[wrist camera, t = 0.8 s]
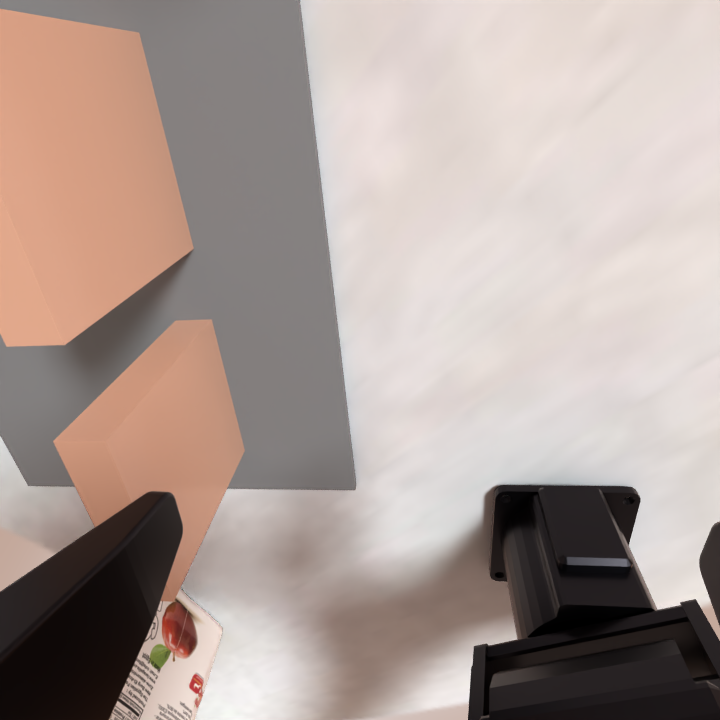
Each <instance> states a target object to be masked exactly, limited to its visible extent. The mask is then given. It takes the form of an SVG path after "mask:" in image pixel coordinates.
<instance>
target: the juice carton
mask: <svg viewBox="0 0 720 720" xmlns="http://www.w3.org/2000/svg"><path fill="white" fill-rule="evenodd" d="M222 631H223V628H222V627H221V626H220V625H219V623H218V622H217V621H215V620H214V619H213V618H212V617H211V616H210V615H209V614H208V613H207V612H206V611H204V610H203V609H202V608H201V607H200V606H198V605H197V604H196V603H195V602H194V601H193V600H191V599H190V598H189V597H188V596H187V595H186V594H185V593H184V592H183V590H182V589H181V588H180V589H179V592H178V594H177V596H176V598H175V600H174V602H169V601H160V604H159V607H158V610H157V613H156V615H155V618H154V621H153V623H152V625H151V628H150V630H149V632H148V635H147V637H146V639H145V641H144V644H143V646H142V648H141V650H140V652H139V655H138V657H137V659H136V661H135V664H134V666H133V668H132V670H131V672H130V675H129V677H128V679H127V681H126V683H125V686H124V688H123V690H122V692H121V694H120V697H119V699H118V701H117V703H116V705H115V708H114V710H113V712H112V714H111V716H110V719H109V720H194V719H195V716H196V713H197V711H198V708H199V705H200V702H201V699H202V696H203V693H204V691H205V688H206V685H207V682H208V679H209V675H210V672H211V669H212V666H213V663H214V660H215V657H216V653H217V650H218V647H219V643H220V640H221V636H222Z"/></svg>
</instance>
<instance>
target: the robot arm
mask: <svg viewBox="0 0 720 720" xmlns="http://www.w3.org/2000/svg"><path fill="white" fill-rule="evenodd" d="M504 495H509V496H507V497H503V496H504ZM626 497H629V498H626ZM639 504H640V496H639V495H638V493H637V491H636V490H635V489H634V488H632V487H620V486H532V485H503V486H500V487H498V488H497V489H496V490H495V492H494V502H493V517H492V532H491V547H490V562H489V571H490V577H491V578H492V579H493V580H495V581H507V583H508V588H509V594H510V600H511V605H512V611H513V616H514V622H515V628H516V633H517V639H518V640H513V641H509V642H504V643H499V644H494V645H490V646H488V644H482V645H478V646H474V654H473V666H472V668H471V682H470V698H469V713H468V720H720V641H719V639H718V637H717V636H716V634H715V632H714V630H713V629H712V627H711V625H710V623H709V622H708V620H707V618H706V616H705V615H704V613H703V611H702V609H701V608H700V606H699V604H698V603H697V601H696V599H694V600H689V601H685V602H680V604H681V605H679V606H675V607H670V608H665V609H660V610H657V608H656V605H655V603H654V601H653V599H652V597H651V594H650V592H649V590H648V588H647V586H646V583H645V581H644V579H643V577H642V574H641V572H640V570H639V568H638V566H637V563H636V561H635V559H634V557H633V555H632V552H631V550H630V548H629V542H630V538H631V534H632V531H633V527H634V523H635V519H636V516H637V512H638V508H639ZM182 535H183V523H182V519H181V516H180V513H179V509H178V506H177V502H176V499H175V497H174V495H173V494H172V493H170V492H162V491H150V492H147V493H145V494H144V495H142V496H141V497H139V498H138V499H136V500H135V501H133V502H132V503H130V504H129V505H128V506H126V507H125V508H123V509H122V510H120V511H119V512H117V513H116V514H114V515H113V516H111V517H110V518H108V519H107V520H105V521H104V522H102V523H101V524H99V525H98V526H96V527H95V528H94V529H92V530H91V531H89V532H88V533H86V534H85V535H83V536H82V537H80V538H79V539H77V540H76V541H74V542H73V543H71V544H70V545H68V546H67V547H65V548H64V549H62V550H61V551H60V552H58V553H57V554H55V555H54V556H52V557H51V558H49V559H48V560H47V561H45V562H44V563H42V564H41V565H39V566H38V567H36V568H34V569H33V570H32V571H30V572H28V573H27V574H26V575H24V576H23V577H21V578H20V579H18V580H17V581H15V582H14V583H12V584H11V585H9V586H8V587H6V588H5V589H4V590H2V591H0V720H109V719H110V716H111V714H112V712H113V710H114V708H115V705H116V703H117V701H118V699H119V697H120V694H121V692H122V690H123V688H124V686H125V683H126V681H127V679H128V677H129V675H130V672H131V670H132V668H133V666H134V664H135V661H136V659H137V657H138V655H139V652H140V650H141V648H142V646H143V644H144V641H145V639H146V637H147V635H148V632H149V630H150V628H151V625H152V623H153V621H154V618H155V615H156V613H157V610H158V607H159V604H160V601H161V598H162V595H163V592H164V590H165V587H166V584H167V581H168V578H169V575H170V572H171V569H172V566H173V563H174V560H175V557H176V554H177V551H178V548H179V545H180V542H181V539H182ZM699 564H700V571H701V574H702V577H703V580H704V583H705V586H706V589H707V591H708V594H709V597H710V600H711V603H712V606H713V608H714V611H715V614H716V617H717V620H718V623H719V625H720V522H717V523H715V524H714V525H713V527H712V528H711V531H710V533H709V536H708V538H707V541H706V543H705V545H704V548H703V550H702V553H701V555H700V561H699Z"/></svg>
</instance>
